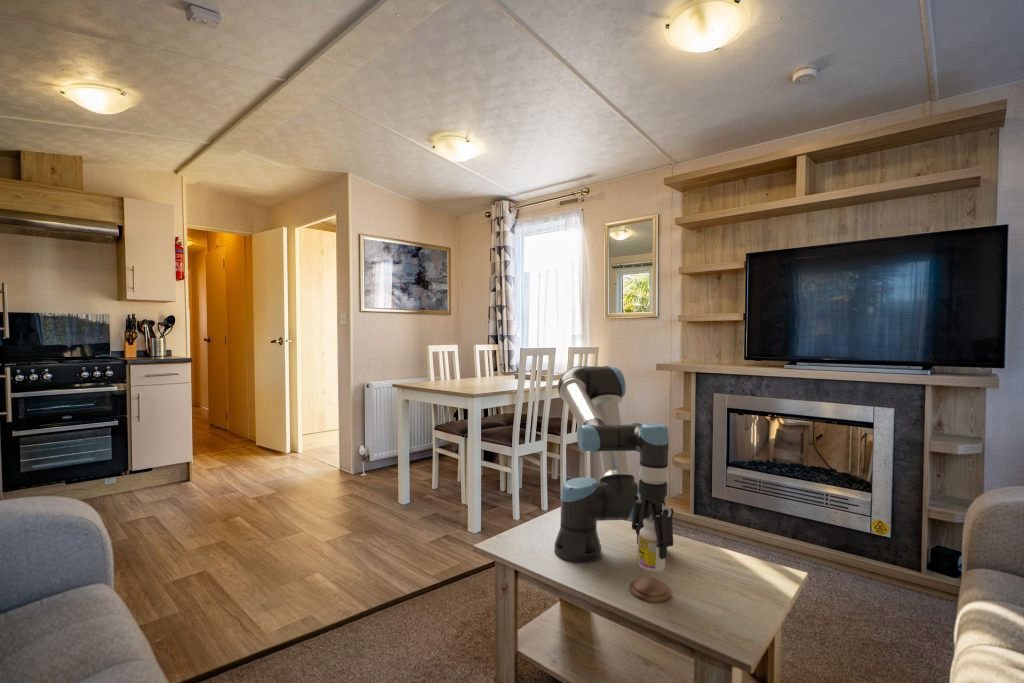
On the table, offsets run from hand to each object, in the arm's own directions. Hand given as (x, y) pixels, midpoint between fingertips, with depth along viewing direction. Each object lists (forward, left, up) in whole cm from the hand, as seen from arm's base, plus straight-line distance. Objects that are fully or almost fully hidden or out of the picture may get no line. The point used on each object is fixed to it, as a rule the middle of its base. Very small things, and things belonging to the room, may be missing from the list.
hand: (650, 563), depth 138 cm
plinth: (0, 0, -8) cm, 8 cm away
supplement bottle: (0, 0, -1) cm, 1 cm away
